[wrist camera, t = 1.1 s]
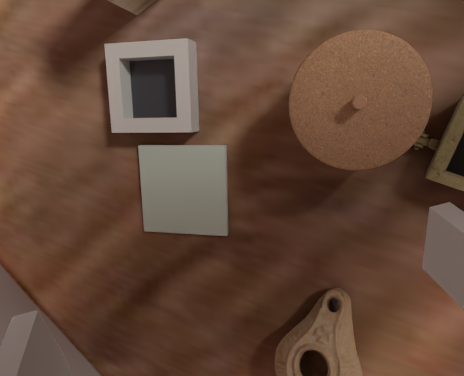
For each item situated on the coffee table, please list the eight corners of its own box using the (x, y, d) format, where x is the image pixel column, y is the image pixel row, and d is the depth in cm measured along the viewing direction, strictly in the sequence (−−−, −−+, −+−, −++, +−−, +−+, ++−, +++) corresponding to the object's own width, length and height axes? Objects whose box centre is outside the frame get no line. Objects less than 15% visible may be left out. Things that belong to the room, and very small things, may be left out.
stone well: (117, 47, 41) (104, 43, 38) (196, 42, 39) (187, 38, 36) (123, 131, 42) (111, 132, 40) (199, 131, 40) (191, 132, 38)
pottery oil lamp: (383, 300, 40) (395, 340, 33) (342, 389, 43) (346, 442, 36) (303, 270, 41) (299, 302, 34) (269, 359, 44) (260, 404, 37)
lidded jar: (326, 27, 36) (327, -1, 27) (433, 74, 34) (473, 61, 25) (276, 130, 39) (262, 137, 30) (373, 177, 37) (389, 198, 28)
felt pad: (140, 144, 42) (138, 145, 42) (226, 145, 40) (225, 145, 39) (146, 229, 44) (144, 231, 44) (228, 234, 42) (227, 236, 41)
